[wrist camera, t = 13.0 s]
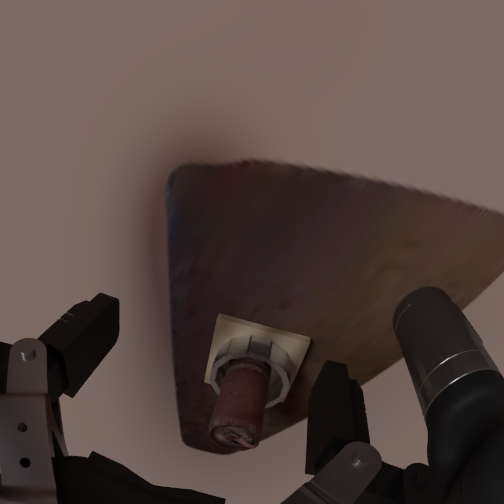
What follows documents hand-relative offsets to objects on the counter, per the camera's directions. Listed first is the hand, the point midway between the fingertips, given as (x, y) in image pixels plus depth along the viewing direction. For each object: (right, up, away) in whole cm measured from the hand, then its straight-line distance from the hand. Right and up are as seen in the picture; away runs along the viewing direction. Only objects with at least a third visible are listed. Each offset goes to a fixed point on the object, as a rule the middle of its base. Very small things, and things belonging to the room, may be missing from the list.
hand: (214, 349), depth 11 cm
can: (+1, -13, +34) cm, 36 cm away
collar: (+2, -13, +34) cm, 36 cm away
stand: (+2, -12, +35) cm, 37 cm away
